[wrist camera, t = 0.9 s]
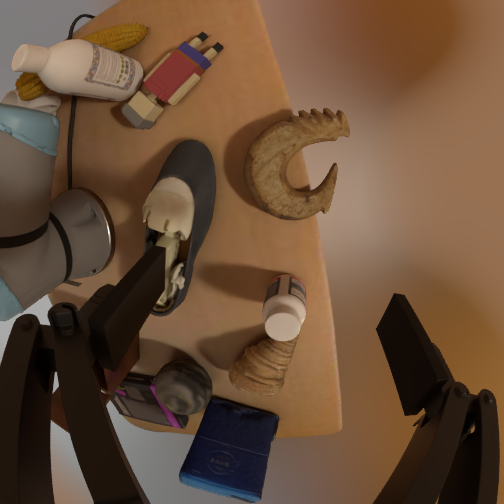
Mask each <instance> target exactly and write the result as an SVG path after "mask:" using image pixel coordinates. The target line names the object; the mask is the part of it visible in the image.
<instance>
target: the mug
mask: <svg viewBox="0 0 504 504" xmlns="http://www.w3.org/2000/svg"><path fill="white" fill-rule="evenodd" d="M1 103H2V104H9V105H15V106H20V107H25V108H31V109H35V110H40V111H44V112H47V113H51V114H53V115H55V116H56V112H57V109H58V108H59V107H60V105H61V100H60V98H59V97H58V96H56V95H46V94H42V95H41V96H39V97H37V98H34V99H32V100H28V101H25V100H21V97H20V96H19V95H18V90H12V91H10V92H9V93H7V94H6V95H5V97H4V98H3V100H2V102H1Z"/></svg>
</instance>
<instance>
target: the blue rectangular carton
mask: <svg viewBox="0 0 504 504" xmlns="http://www.w3.org/2000/svg"><path fill="white" fill-rule="evenodd" d="M278 422H279V417H278V416H277V415H275V414H271V413H268V412H263V411H260V410H256V409H253V408H250V407H247V406H243V405H239V404H235V403H232V402H229V401H226V400H220V399H215V398H211V400H210V401H209V403H208V405H207V407H206V409H205V413H204V416H203V418H202V421H201V423H200V426H199V428H198V431H197V433H196V435H195V438H194V440H193V443H192V445H191V447H190V450H189V452H188V454H187V456H186V459H185V461H184V463H183V465H182V467H181V470H180V473H179V479H180V482H181V483H183V484H185V485H187V486H191V487H195V488H197V489H201V490H204V491H208V492H211V493H215V494H218V495H222V496H226V497H230V498H235V499H238V500H242V501H246V502H249V503H256V502H258V501H260V500H261V495H262V489H263V485H264V479H265V474H266V469H267V462H268V457H269V453H270V447H271V446H270V445H271V442H272V441H273V440H274V438H275V435H276V432H277V428H278Z"/></svg>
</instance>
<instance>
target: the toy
mask: <svg viewBox="0 0 504 504" xmlns="http://www.w3.org/2000/svg"><path fill="white" fill-rule="evenodd" d="M207 38H208V36H207V34H205V33H204V32H201V33H200V34H199V35H198V36H197V37H196V38H195V39H193V40H192V41H191V42H190V43H189V44H187V43H186V42H184V43H182V44H181V45H180V46H179V47H178V48H176V49H175V51H174V52H173V53H172V54H170V53H168V54H167V55H166V56H165V57H164V58H163V59H162V60H161V61H160V62H159V63H158V64H157V65H156V66H155V67H154V69H153V70H152V71H151V72H150V73H149V74H148V75H147V76H146V77H145V78H144V80H143V81H144V86H145V87H146V88H147V89H148V90H149V91H151V93H150V94H149V95H147V94H145V93H143V92H140V91H138V92H137V93H136V94H135V96H134V97H133V98H132V99H131V100H130V102H129V103H126V104H125V105H124V107H123V108H122V109H121V111H122V112H123V116H124V117H125V118H126V119H127V120H128V121H129V122H130V123H131V124H132V125H133V126H134V127H136V128H138V129H143V130H144V129H150V128H151V126H152V125H153V124H154V123H155V121H154V120H155V119H156V118H157V117H158V116H159V115H160V114H161V112H162V111H163V110H164V109H163V108H162V107H161V106H160V105H159V104H158V103H157V101H158V100H159V99H160V100H162V101H163V102H165V103H167V104H169V105H172V106H175V105H176V104H177V103H178V102H179V101H180V99H181V98H182V97H183V96H184V95H185V94H186V93H187V92H188V91H189V90H190V89H191V88H192V87H193V86H194V85H195V84H196V83H197V82H198V81H199V80H200V79H201V78H200V77H199V76H200V75H201V74H202V73H204V72H205V70H206V69H207V68H208V67H209V66H210V65H211V63H210V62H209V61H210V60H211V59H212V58H213V57H214V56H215V55H216V54H217V53H219V52H220V51H221V50H222V49H223V46H222V45H221V44H219V43H218V42H217V43H216V44H215V45H214V46H213V47H212V48H211V49H209V50H208V51H207V52H206V53H205V54H204V55H202V54H201V53H200V52H198V51H197V50H196V49H195V48H197V47H198V46H199V45H200V44H201V43H202V42H203V41H204V40H206V39H207Z"/></svg>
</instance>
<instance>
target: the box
mask: <svg viewBox="0 0 504 504" xmlns="http://www.w3.org/2000/svg"><path fill="white" fill-rule="evenodd" d="M155 378H156V377H150V376H143V375H137V374H130V373H128V374H127V375H126V377H125V378H124V379H123V381H122V382H121V384H120V385H119V386H118V388H117V389H116V390H115V392H114V393H113V394H112V395H110V394H108V393H106V394H107V395H108V396H110V398H111V399H110V400H111V401H112V403H113V404H114V406H115V407H116V409H117V410H118V411H119V414H121V415H125V416H128V417H132V418H135V419H139V420H144V421H148V422H152V423H156V424H161V425H166V426H171V427H176V428H182V429H185V427H186V425H187V423H188V421H189V419H188V417H187V415H180V414H176V413H173V412H171V411H169V410H168V409H166V408H165V407H164V406H163V405H162V404H161V403H160V401H159V400H158V398H157V395H156V393H155Z"/></svg>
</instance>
